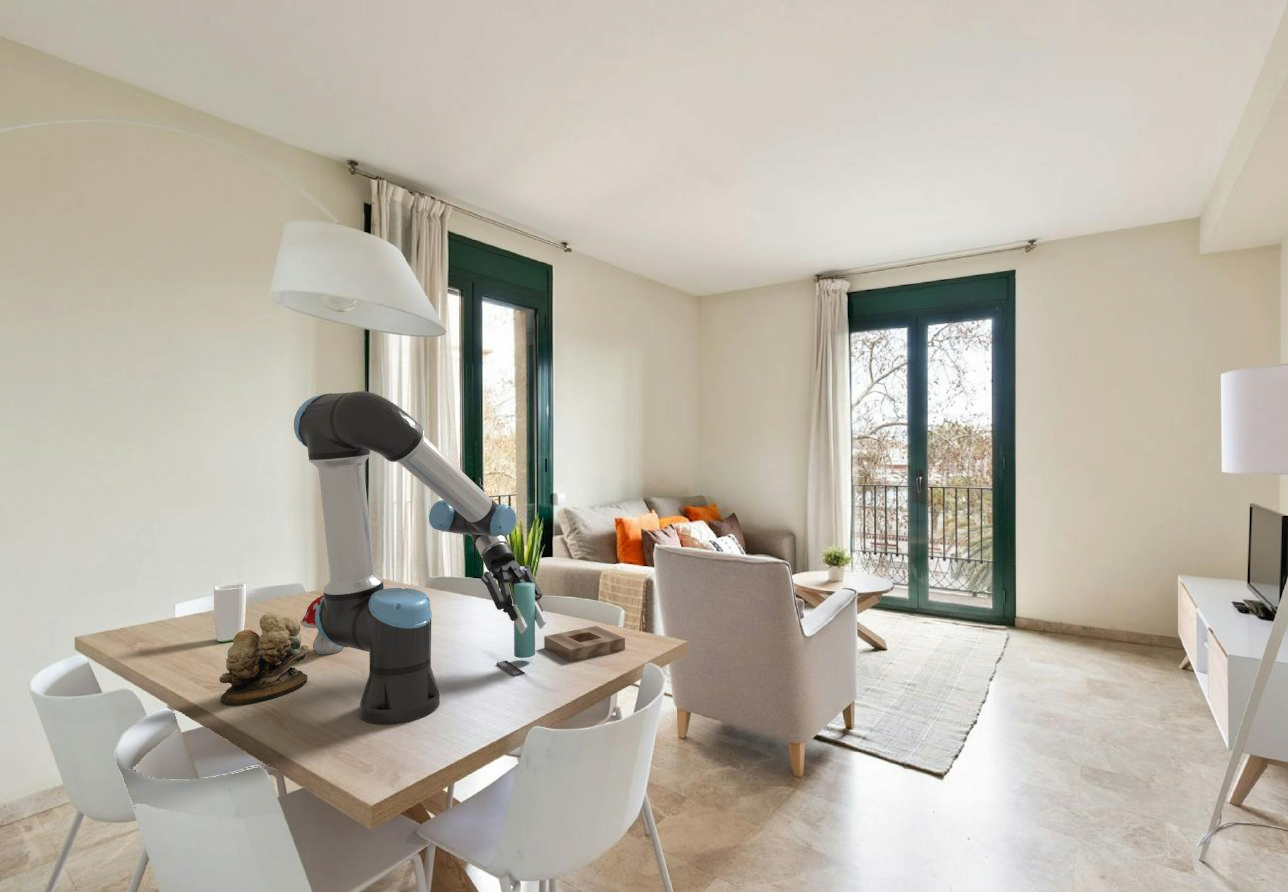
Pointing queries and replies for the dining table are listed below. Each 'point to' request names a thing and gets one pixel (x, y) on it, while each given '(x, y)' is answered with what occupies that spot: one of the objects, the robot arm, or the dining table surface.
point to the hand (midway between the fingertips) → (533, 627)
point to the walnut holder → (584, 643)
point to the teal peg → (526, 605)
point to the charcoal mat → (510, 668)
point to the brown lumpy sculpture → (264, 662)
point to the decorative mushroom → (319, 643)
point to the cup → (229, 610)
